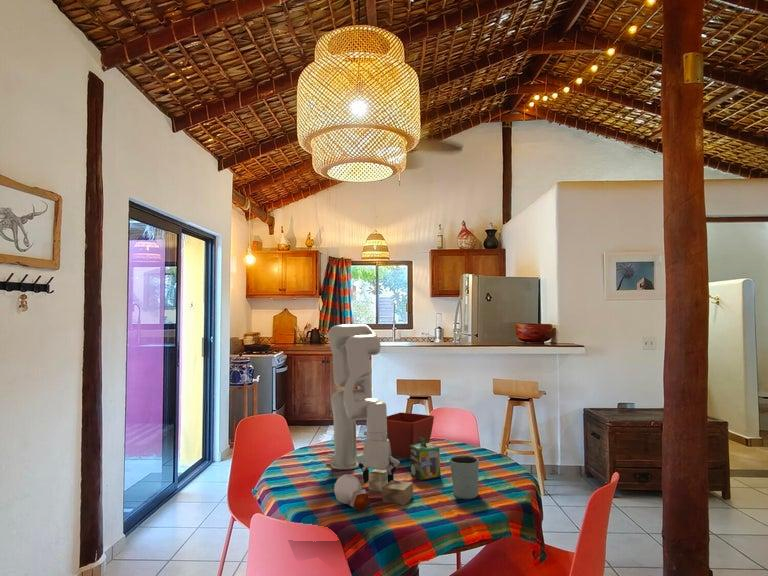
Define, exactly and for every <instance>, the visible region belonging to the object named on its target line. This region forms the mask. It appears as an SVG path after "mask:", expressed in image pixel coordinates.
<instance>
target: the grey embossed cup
mask: <svg viewBox="0 0 768 576" xmlns="http://www.w3.org/2000/svg"><path fill="white" fill-rule="evenodd" d="M479 464H480V463H479V458H478V457H476V456H473V455H455V456H452V457H450V458H449V466H450V471H451V472H450V473H451V480H452V491H453V496H455V497H457V498H460V499H464V500H465V499H466V500H469V499H475V498H477V497H478V495H479V467H480V466H479Z"/></svg>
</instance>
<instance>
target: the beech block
mask: <svg viewBox="0 0 768 576" xmlns="http://www.w3.org/2000/svg"><path fill="white" fill-rule="evenodd" d="M387 475H388V472H387V471H386V469H385V470H382V469H373V470H371V471H369V481H368V490H369V491H375V492H382V487H383V486H385V485H386V484H387V483H388V480H387Z"/></svg>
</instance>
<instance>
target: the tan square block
mask: <svg viewBox="0 0 768 576" xmlns="http://www.w3.org/2000/svg"><path fill="white" fill-rule="evenodd" d="M381 494H382V502H383V503H390V504H396V505H402V506H405V505H406V504H408V503H409V501H410V500H411V499H412V498H414V482H411V481H403V480H402V481H401V480H395V479H394V480H391V481H390V482H389V483H388V482H387V484H386V485H385V486H383V487H382V493H381Z"/></svg>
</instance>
